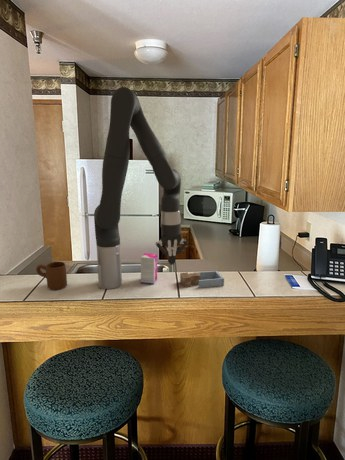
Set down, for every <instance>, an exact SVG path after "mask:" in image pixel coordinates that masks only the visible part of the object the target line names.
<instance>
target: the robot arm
mask: <svg viewBox="0 0 345 460" xmlns="http://www.w3.org/2000/svg"><path fill="white" fill-rule="evenodd" d="M109 116H110V118H109V128H108V132H107V137H106V142H105V143H106V144H105V147H104V148H105V149H104V155H103V158H102V168H101V169H102V171H101V173H102V174H101V185H102V186H101V187H102V188H101V189H102V191H101V196H100V201H99V204H98V205H97V207H95V210H94V212H93V213H94V214H93V218H94V220H93V221H94V233H95V234H94V235H95V243H96V259H97V260H96V261H97V277H98V278H97V281H98V289H105V290H112V289H113V290H114V289H116V288H119V287H121V286H122V284H123V279H122V256H121V254H122V253H121V237H120V231H119V223H120V221H121V208H122V205H121V204H122V195H123V190H124V186H125V182H126V178H127V172H128V167H129V163H130V162H129V161H130V153H131V152H130V151H131V148H130V147H131V145H130V131H131V130H132V132H133V133H134V134H135V137H136V139H137V141H138V144H139V146H140V148H141V151H142V152H143V154H144V156H145V157H146V159H147V161H148V162H149V165H150V166H151V168H152V171H153V173H154V176H155V179H156V181H157V183H158V184H159V185H160V187H161V188H162V189H163V190H162V191H163V195H162V197H161V200H160V201H161V203H160V204H161V205H160V208H161V212H160V213H161V214H160V215H161V216H160V223H161V225H160V226H161V236H160V239H159V241H156V242H155V243H154V244H155V246H156V247H157V248H158V249H159V250H160V252H162V254H163V255H164V256H167V263H168V264H169V265H170V266H172V265H173V266H174V265H175V264H176V255H180V254H181V252H182V251H183V250H184V248H185V247H186V246H187V244H188V241H187V240H186V239H184V238H183V235H182V226H181V225H182V224H181V223H182V221H181V220H182V219H181V204H180V195H181V187H182V178H181V174H180V172H179V171H178V170H177V169H174V168H172V166H171V165H170V163H169V157H168V155H167V153H166V151H165V149H164V147H163V146H162V143H161V142H160V141H159V139H158V137H157V136H156V134H155V133H154V131H153V130H152V128H151V126H150V124H149V122H148V121H147V118H146V116H145V114H144V110H143V109H142V105H141V104H140V100H139V98H138V96H137V94H136V93H135V92H134V91H133V90H131V89H130V88H128V87H125V86H120V87H119V88H117V89H115V90H114V92H113V93H112V94H111V100H110V114H109ZM130 128H131V130H130ZM163 245H164V246H165V247H166V250H165V248H164V247H163Z"/></svg>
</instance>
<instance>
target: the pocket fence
mask: <svg viewBox="0 0 345 460" xmlns="http://www.w3.org/2000/svg"><path fill="white" fill-rule="evenodd" d="M193 273H199V274H200V275H201V280H199V285H198V288H199V289H201V288H203V289H204V288H212V287H222V286H225V277H223V276H222V275H221V273H220V272H219V271H218V270H209V271H208V270H207V271H195V272H193Z"/></svg>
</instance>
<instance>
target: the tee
mask: <svg viewBox="0 0 345 460" xmlns="http://www.w3.org/2000/svg"><path fill="white" fill-rule="evenodd" d="M179 276H180V280H179V282H180V284H181V286H182V288H191V286H197V285H198V286H199V280H202V279H201V275H200V274H199V273H194V272H192V273H191V272H190V273H188V272H180V275H179Z"/></svg>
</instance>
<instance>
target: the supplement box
mask: <svg viewBox="0 0 345 460" xmlns="http://www.w3.org/2000/svg"><path fill="white" fill-rule="evenodd" d="M157 280H158V254H157V253H149V252H148V253H147V252H145V253H143V255H141V257H140V284H144V285H155V283H156V281H157Z"/></svg>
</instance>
